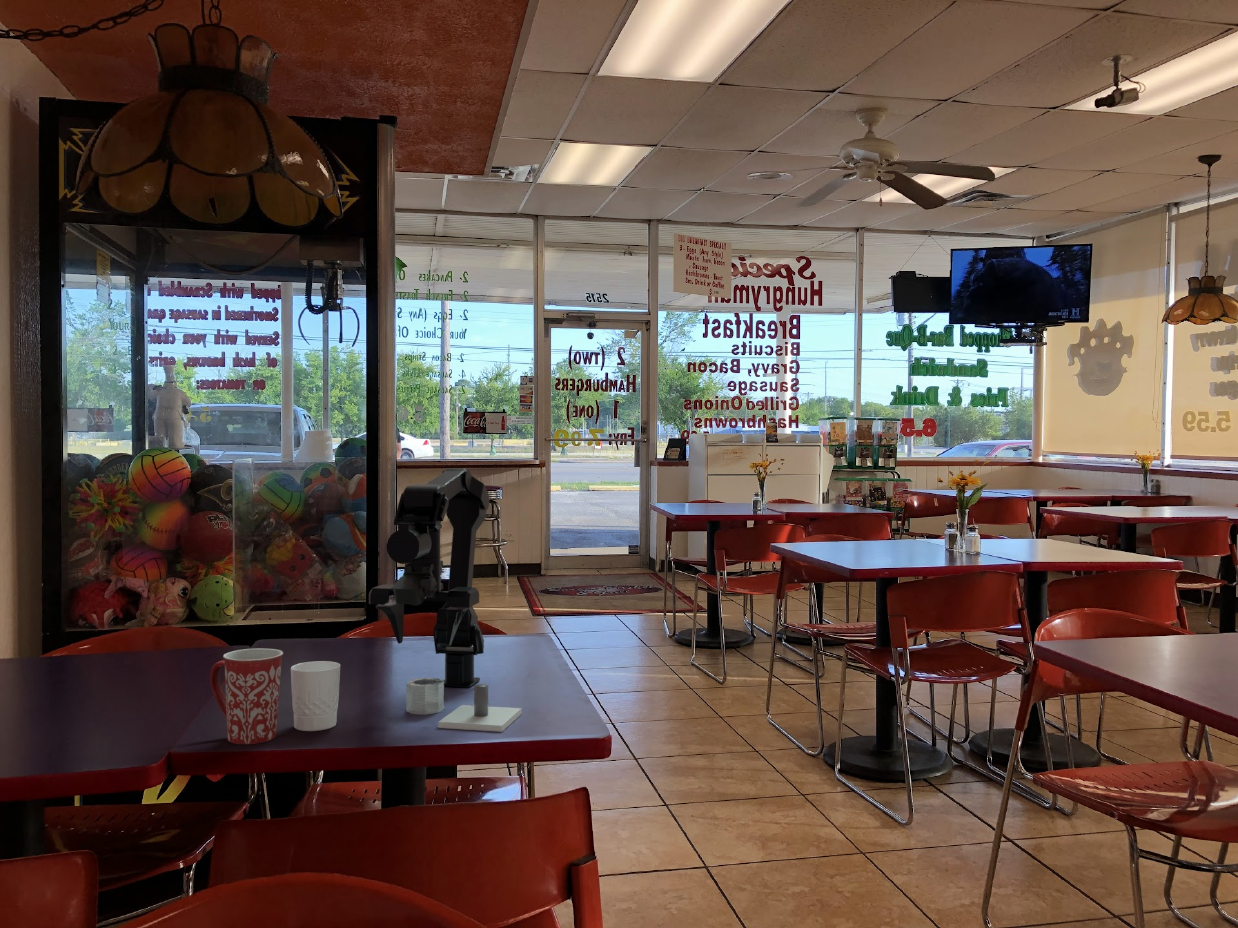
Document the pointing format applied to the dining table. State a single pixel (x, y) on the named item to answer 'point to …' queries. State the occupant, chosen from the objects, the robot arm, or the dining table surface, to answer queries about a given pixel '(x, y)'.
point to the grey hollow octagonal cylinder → (424, 696)
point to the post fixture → (480, 714)
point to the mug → (249, 693)
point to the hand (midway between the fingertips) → (424, 644)
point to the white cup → (315, 694)
